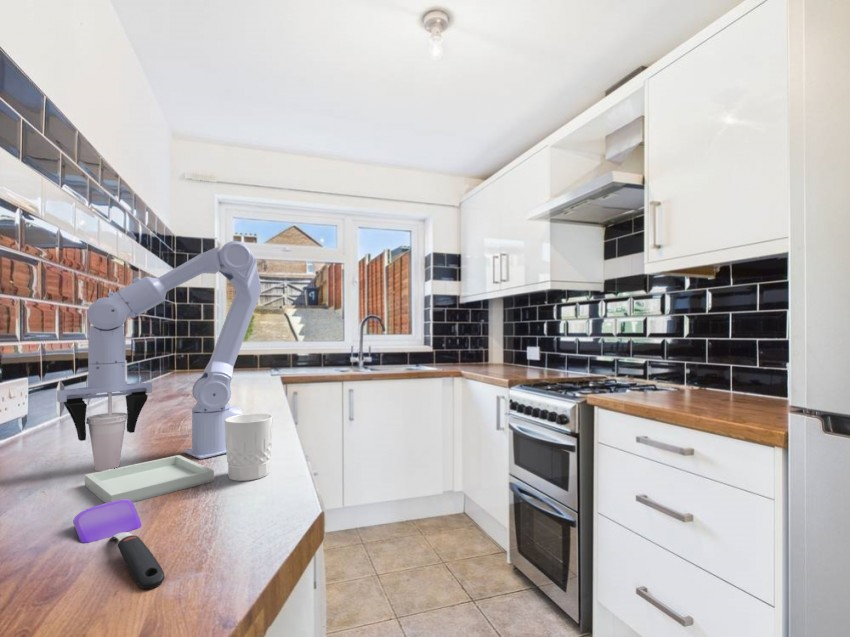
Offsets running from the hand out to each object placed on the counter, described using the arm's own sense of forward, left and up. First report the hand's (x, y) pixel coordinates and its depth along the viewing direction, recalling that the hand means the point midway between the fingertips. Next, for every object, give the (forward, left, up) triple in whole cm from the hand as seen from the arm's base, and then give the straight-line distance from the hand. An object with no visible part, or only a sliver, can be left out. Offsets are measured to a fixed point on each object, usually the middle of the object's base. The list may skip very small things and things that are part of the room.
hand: (107, 435), depth 84 cm
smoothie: (0, 0, -6) cm, 6 cm away
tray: (-2, +16, -6) cm, 17 cm away
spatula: (+8, +39, -6) cm, 40 cm away
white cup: (-15, +25, -6) cm, 30 cm away
